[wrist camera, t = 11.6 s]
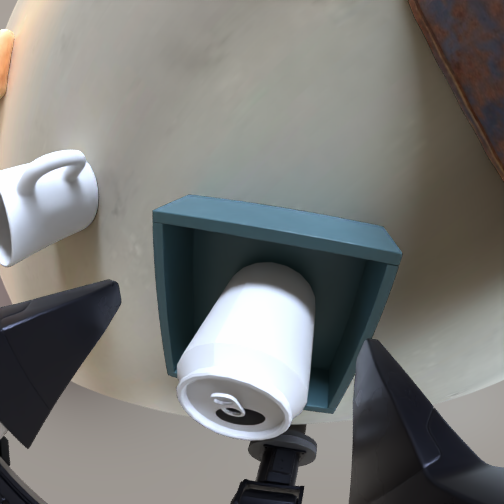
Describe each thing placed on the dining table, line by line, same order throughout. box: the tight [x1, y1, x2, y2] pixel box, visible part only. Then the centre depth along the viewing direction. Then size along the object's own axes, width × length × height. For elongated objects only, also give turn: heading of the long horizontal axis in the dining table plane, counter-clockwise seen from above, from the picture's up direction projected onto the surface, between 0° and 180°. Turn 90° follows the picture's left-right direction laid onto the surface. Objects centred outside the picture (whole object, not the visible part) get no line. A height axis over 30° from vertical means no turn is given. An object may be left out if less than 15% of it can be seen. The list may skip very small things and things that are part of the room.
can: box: [176, 262, 315, 440], centre depth 17 cm, size 8×8×12 cm
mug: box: [0, 150, 98, 267], centre depth 19 cm, size 12×8×11 cm
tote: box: [153, 195, 403, 414], centre depth 21 cm, size 16×16×6 cm
